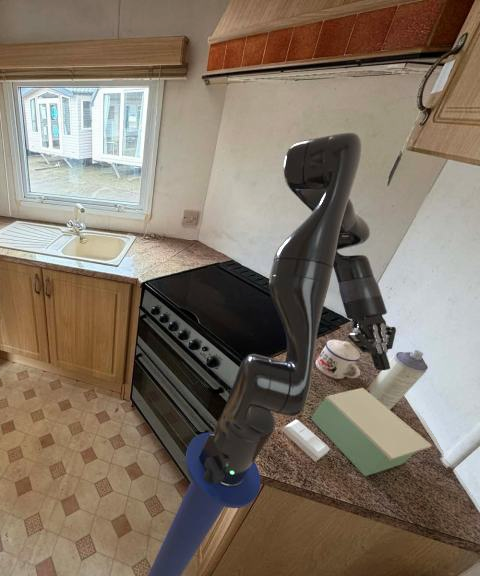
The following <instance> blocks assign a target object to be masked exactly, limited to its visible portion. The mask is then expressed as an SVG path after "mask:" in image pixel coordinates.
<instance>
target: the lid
mask: <svg viewBox="0 0 480 576" xmlns="http://www.w3.org/2000/svg"><path fill="white" fill-rule="evenodd" d="M325 398H326V399H327V400H328V401H329V402H330V403H331V404H332V405H333V406H335V407H336V408H337V409H338V410H339V411H340V412H341V413H342V414H343V415H344V416H345V417H346V418H347V419H348V420H349V421H350V422H351V423H352V424H353V425H354V426H355V427H356V428H358V429H359V430H360V431H361V432H362V433H363V434H364V435H365V436H366V437H367V438H368V439H369V440H370V441H371V442H372V443H373V444H374V445H375V446H376V447H377V448H378V449H379V450H381V451H382V452H383V453H384V454H385V455H386V456H387V457H388V458H389V459H390V460H392V459H395V458H399V457H402V456H405V455H408V454H411V453H414V452H416V453H417V452H421V451H423V450H426V449H430V448H431V447H432V446H433V445H432V444H431V443H430V442H428V441H427V440H426V439H425V438H424V437H423V436H422V435H421V434H419V433H418V432H417V431H416V430H414V429H413V428H412V427H411V426H409V424H407V423H406V422H404V420H402V419H401V418H400V417H399V416H398V415H396V413H394V412H393V411H391V410H389V409H388V408H387V407H385V406H384V405H383V404H382V403H381V402H379V401H378V400H377V399H376V398H375V397H373V396H372V395H371V394H370V393H369V392H367V391H366V389H365V388H364V387H359V388H355V389H351V390H346V391H342V392H338V393H335V394H330V395H327V396H325Z"/></svg>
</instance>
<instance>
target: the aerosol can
mask: <svg viewBox="0 0 480 576" xmlns="http://www.w3.org/2000/svg"><path fill="white" fill-rule="evenodd" d="M423 356H424V353H423V352H422V351H420V350H416V349H415V350H414V351H413V352H412V351H411V352H409V351H408V352H407V351H406V352H404V351H400V352H399V351H398V352H396V354H394V355H393V356H392V358H391V359H390V360H388V361H389V364H390V369H388V370H380V372H379V373H378V375H377V376H376V377H375V378H374V380H373V381H372V382H371V383H370V384H369V386H367V388H366V389H365V390H366V391H367V392H369V393H370V394H371V395H372V396H373V397H375V398H376V399H377V400H378V401H379V402H381V403H382V404H383V405H384V406H385V407H387V408H388V409H389V410H390V411H391V410H392V409H393V408H394V407H395V405H397V404H398V402H399V401H401V399H402V398H403V397H404V396H405V395H406V393H408V392H409V390H411V388H413V386H414V385H415V384H416V383H417V382H419V380H420V379H421V378H422V377H423V375H424V374H425V373H426V372H427V370H428V368H429V367H428V364H427V363H426V361H425V359H424V358H423Z"/></svg>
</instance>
